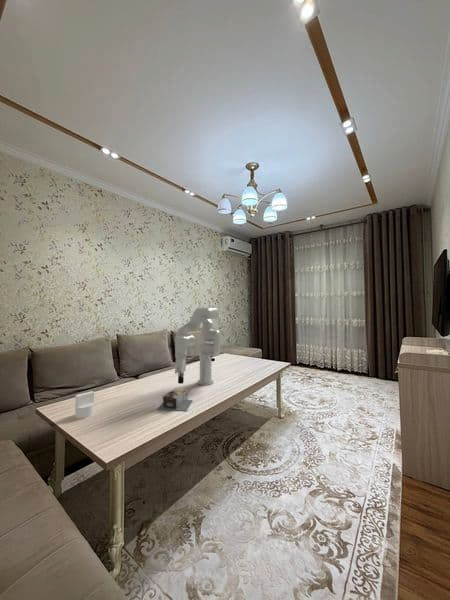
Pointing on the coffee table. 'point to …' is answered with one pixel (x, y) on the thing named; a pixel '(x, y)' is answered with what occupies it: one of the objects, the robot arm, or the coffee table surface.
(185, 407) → the mat
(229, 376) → the coffee table surface
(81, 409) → the translucent cup
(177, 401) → the coffee box
